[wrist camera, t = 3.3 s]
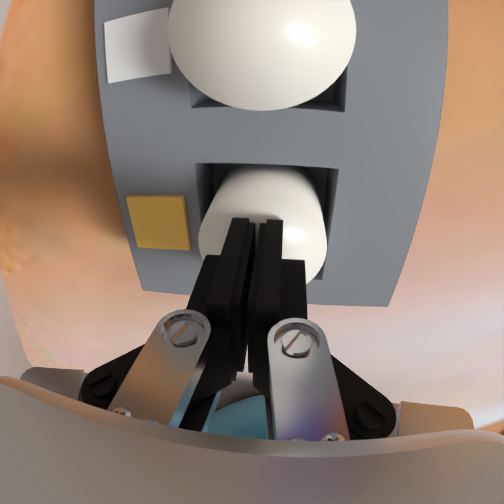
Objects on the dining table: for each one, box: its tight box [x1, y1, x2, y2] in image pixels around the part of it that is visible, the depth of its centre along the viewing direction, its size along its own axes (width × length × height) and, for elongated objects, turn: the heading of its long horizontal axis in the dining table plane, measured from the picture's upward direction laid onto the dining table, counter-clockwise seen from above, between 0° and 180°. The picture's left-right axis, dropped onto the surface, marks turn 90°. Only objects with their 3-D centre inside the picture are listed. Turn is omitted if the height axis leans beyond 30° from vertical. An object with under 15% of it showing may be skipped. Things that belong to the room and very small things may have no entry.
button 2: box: [198, 163, 327, 284], centre depth 12 cm, size 4×4×4 cm
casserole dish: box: [207, 394, 267, 440], centre depth 33 cm, size 37×22×7 cm, turn 151°
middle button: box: [168, 0, 356, 111], centre depth 7 cm, size 4×4×4 cm
